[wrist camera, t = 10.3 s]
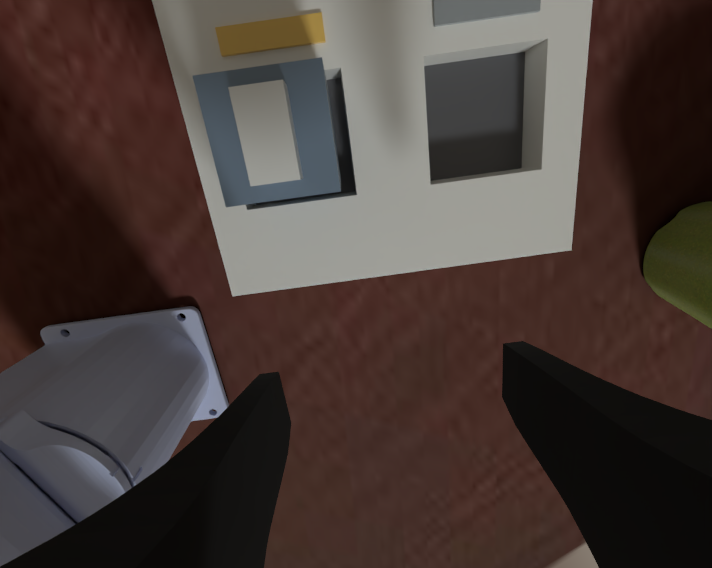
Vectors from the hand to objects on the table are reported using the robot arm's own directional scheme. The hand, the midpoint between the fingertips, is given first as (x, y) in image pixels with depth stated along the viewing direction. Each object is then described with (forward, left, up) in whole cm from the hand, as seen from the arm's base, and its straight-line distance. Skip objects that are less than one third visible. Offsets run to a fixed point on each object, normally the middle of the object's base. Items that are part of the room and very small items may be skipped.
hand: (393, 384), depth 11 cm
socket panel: (+2, +8, -10) cm, 13 cm away
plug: (-3, +8, -10) cm, 13 cm away
